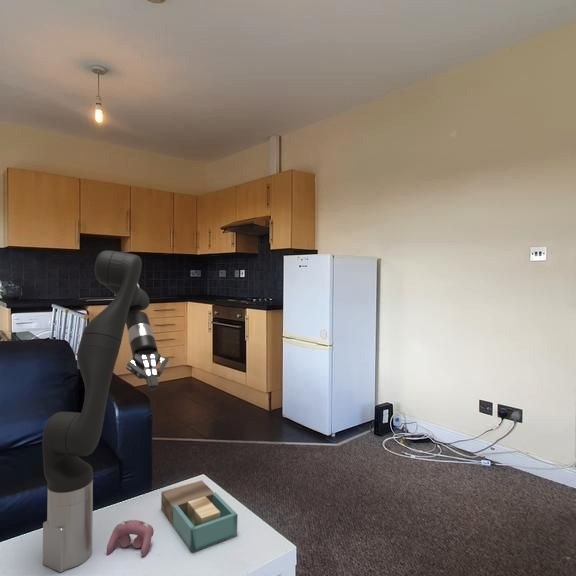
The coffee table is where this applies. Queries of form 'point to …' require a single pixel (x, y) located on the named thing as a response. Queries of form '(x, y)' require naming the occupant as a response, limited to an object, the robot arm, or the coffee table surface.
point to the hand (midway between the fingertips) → (153, 388)
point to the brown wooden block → (183, 497)
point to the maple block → (202, 511)
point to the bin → (206, 526)
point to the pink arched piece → (133, 528)
